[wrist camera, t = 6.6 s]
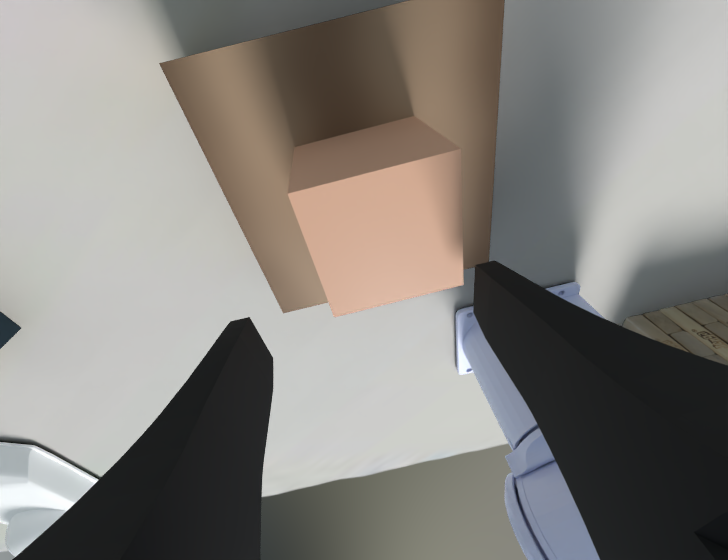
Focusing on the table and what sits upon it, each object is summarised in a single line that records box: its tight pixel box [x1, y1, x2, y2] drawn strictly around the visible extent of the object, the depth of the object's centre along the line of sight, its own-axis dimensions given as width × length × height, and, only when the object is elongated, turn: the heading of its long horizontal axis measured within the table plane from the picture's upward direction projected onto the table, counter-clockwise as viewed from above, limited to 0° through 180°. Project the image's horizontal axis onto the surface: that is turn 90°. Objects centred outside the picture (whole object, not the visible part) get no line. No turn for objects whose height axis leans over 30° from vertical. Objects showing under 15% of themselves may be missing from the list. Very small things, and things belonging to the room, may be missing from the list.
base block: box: [159, 0, 505, 313], centre depth 15 cm, size 12×12×3 cm
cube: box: [287, 116, 464, 317], centre depth 12 cm, size 5×5×5 cm
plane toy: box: [0, 442, 98, 557], centre depth 29 cm, size 10×20×6 cm, turn 13°
